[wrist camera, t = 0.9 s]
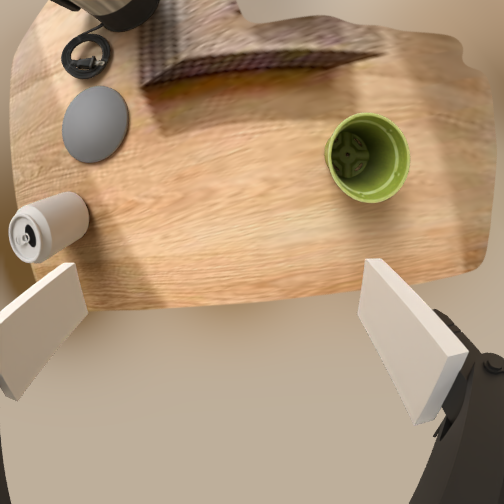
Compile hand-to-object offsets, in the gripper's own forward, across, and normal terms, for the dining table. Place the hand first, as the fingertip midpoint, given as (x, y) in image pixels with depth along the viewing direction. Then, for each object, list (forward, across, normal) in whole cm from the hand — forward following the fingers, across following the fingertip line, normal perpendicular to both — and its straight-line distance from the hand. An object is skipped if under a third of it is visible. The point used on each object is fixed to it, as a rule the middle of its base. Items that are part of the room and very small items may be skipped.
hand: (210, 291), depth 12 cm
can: (+26, -26, -1) cm, 37 cm away
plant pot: (+26, +14, +5) cm, 30 cm away
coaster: (+26, -20, +12) cm, 35 cm away
